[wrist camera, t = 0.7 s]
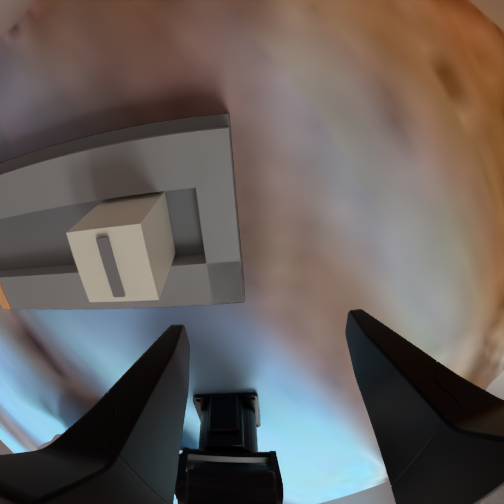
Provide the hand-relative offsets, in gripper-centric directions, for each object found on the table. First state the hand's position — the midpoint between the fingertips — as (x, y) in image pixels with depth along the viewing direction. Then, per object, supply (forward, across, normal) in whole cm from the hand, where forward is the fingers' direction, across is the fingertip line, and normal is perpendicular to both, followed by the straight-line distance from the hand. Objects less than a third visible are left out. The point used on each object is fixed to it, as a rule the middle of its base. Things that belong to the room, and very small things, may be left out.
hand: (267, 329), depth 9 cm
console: (+12, +14, 0) cm, 18 cm away
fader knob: (+10, +7, 0) cm, 12 cm away
